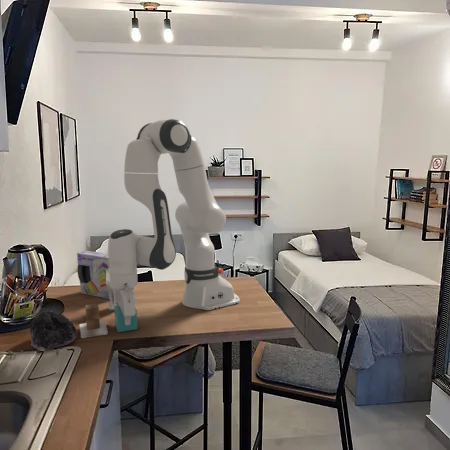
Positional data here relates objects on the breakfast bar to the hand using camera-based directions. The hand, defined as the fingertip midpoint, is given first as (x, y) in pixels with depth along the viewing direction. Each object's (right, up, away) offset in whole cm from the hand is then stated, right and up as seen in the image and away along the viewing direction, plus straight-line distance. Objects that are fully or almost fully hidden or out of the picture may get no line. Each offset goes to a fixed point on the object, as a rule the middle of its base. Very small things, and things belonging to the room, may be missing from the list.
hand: (125, 320), depth 135 cm
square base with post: (-10, -3, -2) cm, 11 cm away
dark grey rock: (-20, -5, -10) cm, 22 cm away
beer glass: (-8, 0, +18) cm, 19 cm away
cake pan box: (-19, +2, +32) cm, 38 cm away
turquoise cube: (0, -2, 0) cm, 3 cm away
